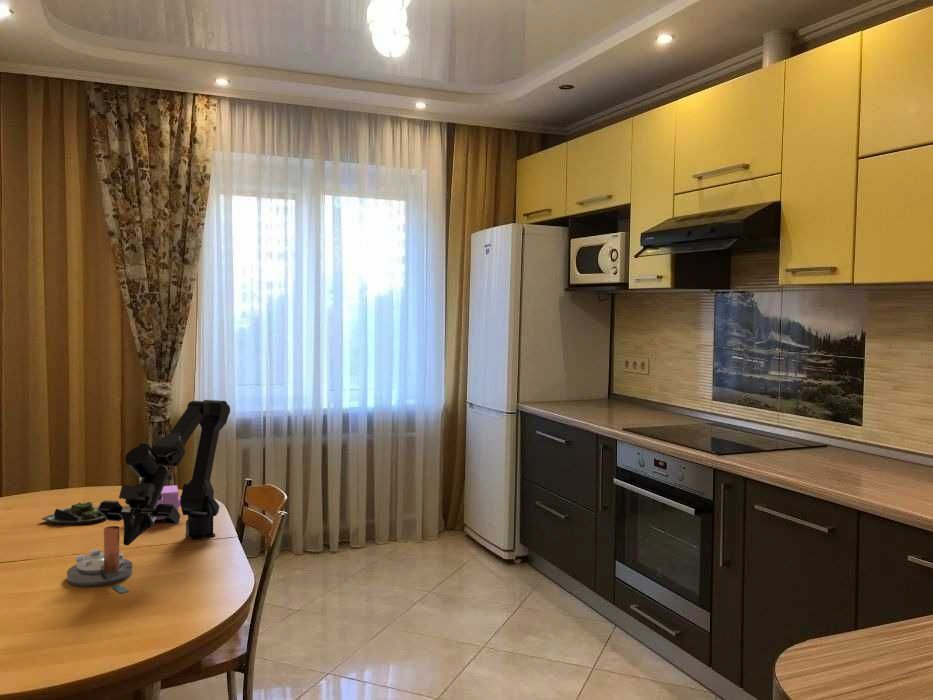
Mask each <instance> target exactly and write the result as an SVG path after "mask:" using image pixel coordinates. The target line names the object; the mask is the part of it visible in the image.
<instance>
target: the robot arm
mask: <svg viewBox="0 0 933 700" xmlns="http://www.w3.org/2000/svg"><path fill="white" fill-rule="evenodd" d="M230 413H231V407H230V405H229V404H228V403H227V401H226V400H220V399H219V400H218V399H217V400H216V399H204V400H191V401H189V402H188V404H187V407H186V409H185V411H184V412H183V414H182V415H181V417H180V418H179V419H178V421H177V422H176V424H175V425H174V426H173V428H172V429H171V430H170V432H169V433H168V434H166V435H164V436H163V437H160V438H159V439H157V440H156V441H155V443H154V444H153V445H152V446H150V444H149V443H148V442H147V443H146V442H140V443H139V445H138V446H136V447H133V448H132V449H130V451H129V452H127V453H126V455H125V458H124V461H125V463H126V464H127V465H128V467H129V468H130V469H131V470H132V471H133V472H134V474H135V475H136V476H138V478H139V477H142V478H141V481H140V480H139V482H138V483H139V484H137V483H136V484H134V485H133V484H122V485H121V487H120V492H119V496H118V498H119V499H123V500H124V503H125V504H126V505H122V504H121V503H120V502H119V501H118V500H102V501H101V502H100V503H99V505H98V506H99V507H98V509H97V510H98V511H99V512H100V513H101V514H102V515H103V516H104V518H105V519H106V520H107V521H109V522H120V521H122V520H123V545H124V546H127V547H128V546H130V545H131V544H132V543H133V542H134V541H135V540H137V538H138V537H139V536H141V535H142V534H143V533H144V532H146V531H147V530H149V529H150V528H151V527H155V525H156V523H155V521H156V520H155V519H156V518H157V517H165V519H163V521H164V522H165V524H166V525H173V526H174V525H175V526H176V525H178V524H179V521H180V519H181V514H180V512H179V510H178V511H177V510H176V508H175V507H174V505H173V504H158V505H157V506H156V504H157V501H158V500H161V499H162V496H161V492H162V489H163V487H164V486H166V482H167V481H172V474H171V471H170V469H167V468H166V467H177V466H179V464H181V462H182V461H183V459H184V458H183V457H184V456H185V454H186V449H185V448H186V447H185V446H186V444H187V442H188V441H189V439H190V438H191V436H192V435H193V434H194V432H195V430H196V429H197V427H198V426H200V428H201V430H200V434H199V435H200V436H199V441H198V445H197V450H196V456H195V462H194V467H193V471H192V477H191V479H190V480H189V481H188V483H184V484H182V485H183V486H182V489H181V495H180V497H179V498H181V499H180V505H181V506H180V508H181V512H182V516H187V519H186V520H185V535H186V536H187V537H188V538H190V539H191V540H192V541H197V540H201V539H206V538H213V537H216V533H214V517H216V516H217V515H218V514H219V511H220V510H219V509H220V504H219V503H218V502H217V501H216V499H215V498H214V495H215V490H214V488H213V485H212V483H211V476H212V472H213V467H214V460H215V456H216V450H217V446H218V440H219V435H220V431H221V430H222V429H223V428H224V427H225V426H226V424H227V422H228V419H229V416H230ZM155 506H156V509H155ZM106 520H105V521H106Z"/></svg>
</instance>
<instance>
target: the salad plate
mask: <svg viewBox="0 0 933 700" xmlns="http://www.w3.org/2000/svg"><path fill="white" fill-rule="evenodd" d="M98 507H99V505H97V506H95V505H94V504H93V502H91V501H88V502H86V501H83V502H78V503H75V504H71V505H70V507H66V508H60V509H59V508H56V509H55V510H54V513H53V514H50V515H46V516H44V517H41V520H42V521H45V522H48V523H50V524H51V525H53V526H65V525H69V526H86V525H93V524H98V523H102V522H104V521H106V519H105V518H104V516H103V515H102V514H101V513H100V512H99V511H98V510H97V509H98Z"/></svg>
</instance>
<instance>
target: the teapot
mask: <svg viewBox="0 0 933 700" xmlns="http://www.w3.org/2000/svg"><path fill="white" fill-rule="evenodd" d="M161 496H162V499H161V500H158V501H157V504H156V506H157V505H158V504H173V505H174V507H175V508H176V510H177V511H178V512H179V508H181V505H180V499H181V498H180V497H179V489H178V485H176V484H175V485H164V487H163V489H162V492H161ZM156 506H155V509H156ZM164 519H165V517H157V518H156V519H155V521H157V520H164Z"/></svg>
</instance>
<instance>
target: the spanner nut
mask: <svg viewBox="0 0 933 700" xmlns="http://www.w3.org/2000/svg"><path fill="white" fill-rule="evenodd" d="M124 557H125V553H124V552H120V526H118V525H117V526H116V525H110V526H106V527H104V528H103V551H101V550H100V548H97V549H91V550H89V553H88V554H78V555H77V556H76V557H75V562H76V564H77V571H78V572H79V573H82V574H103V575H104V576H105V577H106V578H112V577H117V576H119V568H121V567H122V566H123V559H124Z"/></svg>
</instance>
